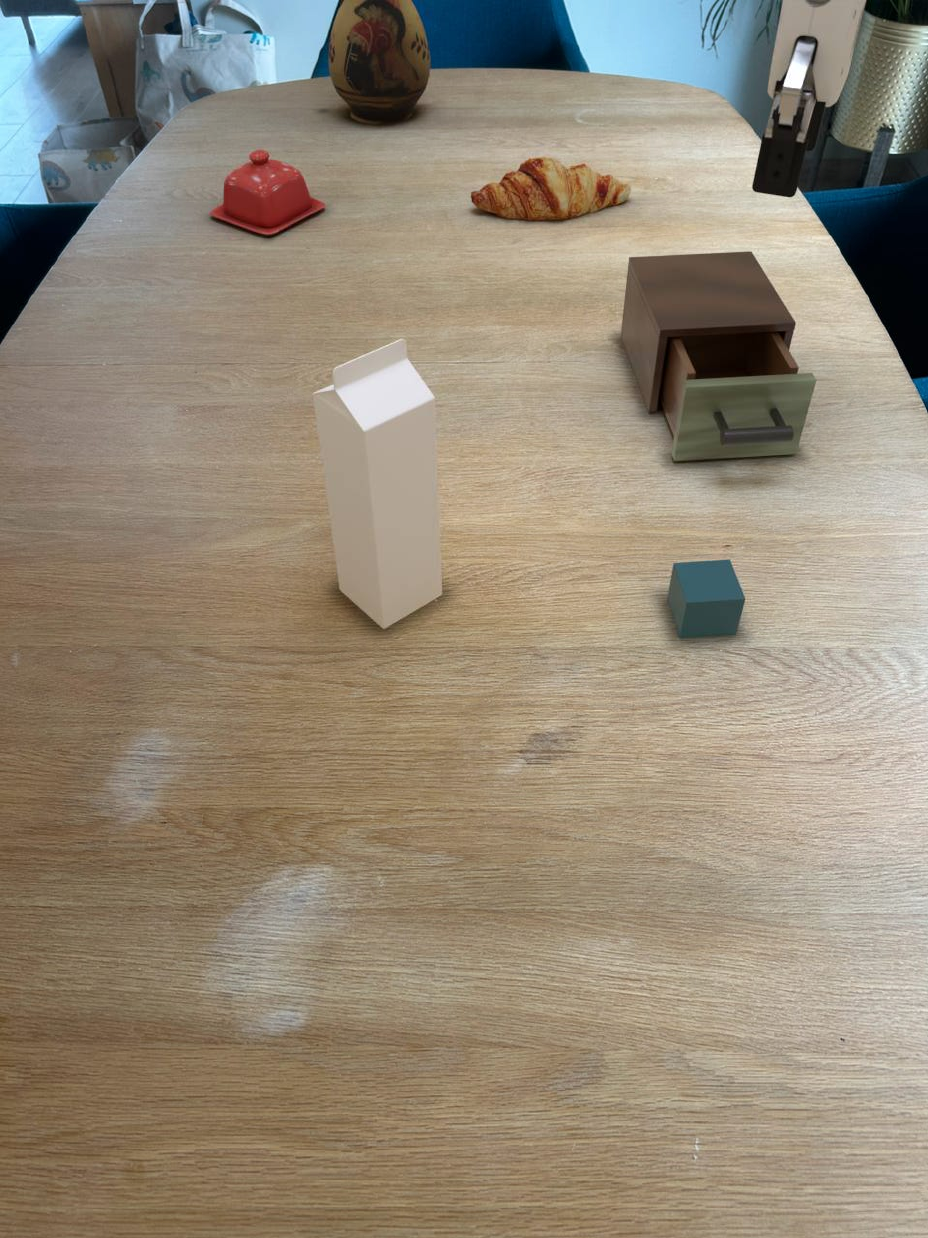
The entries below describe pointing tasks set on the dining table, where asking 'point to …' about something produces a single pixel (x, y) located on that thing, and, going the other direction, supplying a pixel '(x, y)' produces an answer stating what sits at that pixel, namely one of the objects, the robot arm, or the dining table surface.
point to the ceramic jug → (379, 59)
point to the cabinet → (693, 308)
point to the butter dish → (265, 196)
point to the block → (705, 598)
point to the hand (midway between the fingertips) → (784, 169)
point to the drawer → (733, 396)
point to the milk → (382, 482)
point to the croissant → (550, 191)
